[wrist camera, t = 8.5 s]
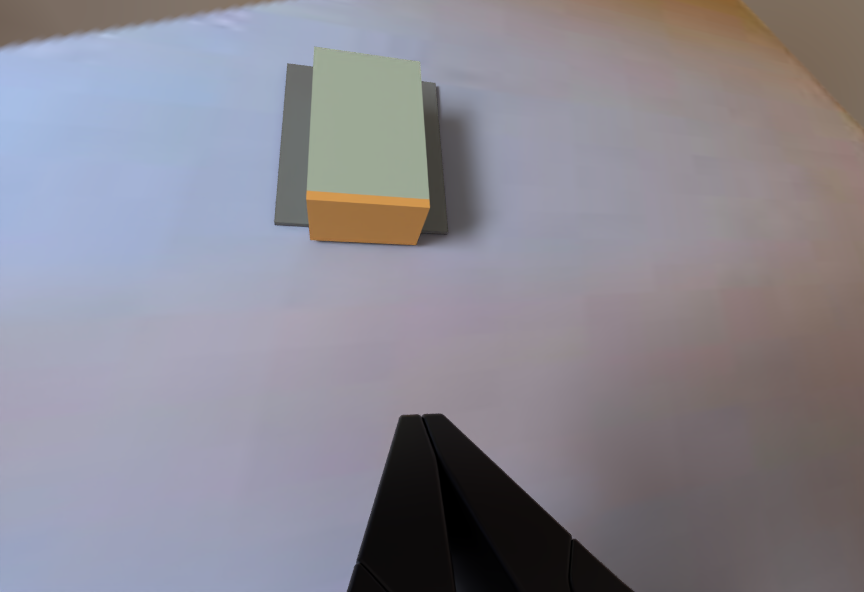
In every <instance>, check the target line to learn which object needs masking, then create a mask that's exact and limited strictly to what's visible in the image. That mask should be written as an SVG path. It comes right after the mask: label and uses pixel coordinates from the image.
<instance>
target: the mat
mask: <svg viewBox="0 0 864 592" xmlns="http://www.w3.org/2000/svg"><path fill="white" fill-rule="evenodd" d="M312 81H313V67H311V66H303V65H296V64H288V63H287V74H286V86H285V99H284V111H283V123H282V135H281V147H280V159H279V171H278V183H277V196H276V208H275V220H274V223H275V225H285V226H304V227H309V222H308V212H307V202H306V194H307V175H308V157H309V138H310V119H311V100H312ZM421 84H422V98H423V113H424V127H425V142H426V157H427V171H428V186H429V201H430V209H429V212H428V214H427V217H426V220H425V222H424V225H423V228H422V230H421V233H433V234H447V233H448V227H447V215H446V203H445V191H444V179H443V167H442V155H441V143H440V131H439V120H438V108H437V96H436V84H435V83H431V82H423V81H421Z"/></svg>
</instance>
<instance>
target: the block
mask: <svg viewBox="0 0 864 592" xmlns="http://www.w3.org/2000/svg"><path fill="white" fill-rule="evenodd" d="M306 202H307V212H308V222H309V232H310V240H319V241H340V242H362V243H383V244H404V245H416V244H417V241H418V238H419V236H420V233H421V230H422V228H423V225H424V222H425V220H426V217H427V214H428V212H429V209H430V201H429V186H428V171H427V157H426V142H425V127H424V113H423V98H422V84H421V69H420V62H418V61H411V60H404V59H397V58H390V57H383V56H376V55H369V54H362V53H355V52H348V51H341V50H334V49H327V48H320V47H314V62H313V81H312V100H311V119H310V138H309V157H308V175H307V194H306Z"/></svg>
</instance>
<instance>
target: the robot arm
mask: <svg viewBox="0 0 864 592" xmlns="http://www.w3.org/2000/svg"><path fill="white" fill-rule="evenodd" d="M347 592H634V591H633V590H632V589H630V588H629V587H628V586H627V585H626V584H624V583H623V582H622V581H621V580H620V579H619V578H618V577H617V576H615V575H614V574H613V573H612V572H611V571H610V570H609V569H608V568H607V567H606V566H604V565H603V564H602V563H601V562H600V561H599V560H598V559H597V558H596V557H594V556H593V555H592V554H591V553H590V552H589V551H588V550H587V549H586V548H585V547H584V546H583V545H582V544H581V543H580V542H578V541H577V540H576V539H572V536H571V534H570V533H569V532H568V531H567V530H565V529H564V528H563V527H562V526H561V525H560V524H559V523H558V522H557V521H556V520H555V519H554V518H553V517H552V516H551V515H550V514H548V513H547V512H546V511H545V510H544V509H543V508H542V507H541V506H540V505H539V504H538V503H537V502H536V501H535V500H534V499H533V498H531V497H530V496H529V495H528V494H527V493H526V492H525V491H524V490H523V489H522V488H521V487H520V486H519V485H518V484H517V483H516V482H514V481H513V480H512V479H511V478H510V477H509V476H508V475H507V474H506V473H505V472H504V471H503V470H502V469H501V468H500V467H499V466H497V465H496V464H495V463H494V462H493V461H492V460H491V459H490V458H489V457H488V456H487V455H486V454H485V453H484V452H483V451H482V450H480V449H479V448H478V447H477V446H476V445H475V444H474V443H473V442H472V441H471V440H470V439H469V438H468V437H467V436H466V435H465V434H463V433H462V432H461V431H460V430H459V429H458V428H457V427H456V426H455V425H454V424H453V423H452V422H451V421H450V420H449V419H448V418H446V417H445V416H444V415H443V414H439V413H438V414H424V415H422V417H421V416H420V415H418V414H413V415H401V416H400V417H399V420H398V424H397V427H396V430H395V434H394V437H393V440H392V444H391V447H390V450H389V454H388V457H387V460H386V464H385V467H384V470H383V474H382V477H381V480H380V484H379V487H378V490H377V494H376V497H375V500H374V504H373V507H372V511H371V514H370V517H369V521H368V524H367V527H366V531H365V534H364V537H363V541H362V544H361V547H360V551H359V554H358V557H357V561H356V565H355V566H354V570H353V573H352V576H351V580H350V583H349V586H348V590H347Z"/></svg>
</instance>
